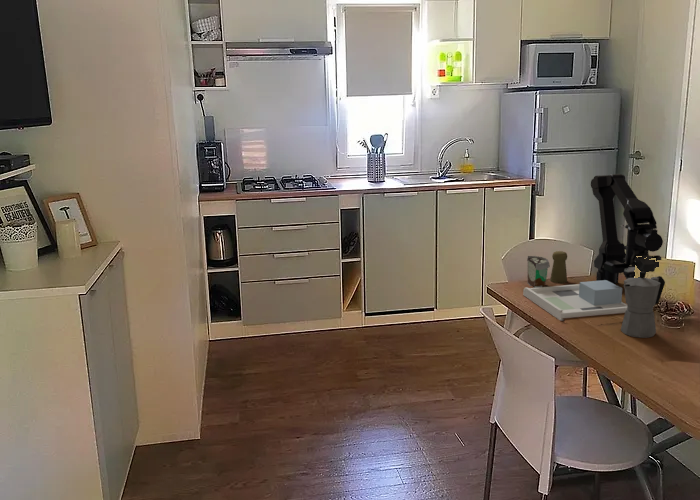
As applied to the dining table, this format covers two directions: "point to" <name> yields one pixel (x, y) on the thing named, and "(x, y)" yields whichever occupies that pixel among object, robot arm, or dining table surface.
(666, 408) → the dining table surface
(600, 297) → the slate block
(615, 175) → the robot arm
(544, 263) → the food container
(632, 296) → the coffeepot
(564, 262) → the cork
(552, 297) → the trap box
